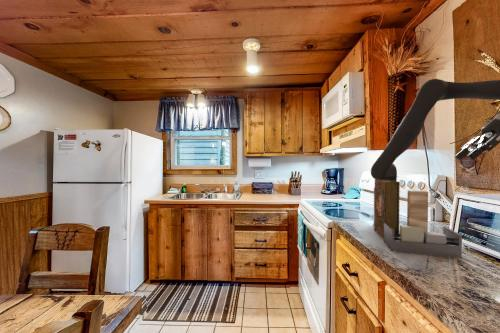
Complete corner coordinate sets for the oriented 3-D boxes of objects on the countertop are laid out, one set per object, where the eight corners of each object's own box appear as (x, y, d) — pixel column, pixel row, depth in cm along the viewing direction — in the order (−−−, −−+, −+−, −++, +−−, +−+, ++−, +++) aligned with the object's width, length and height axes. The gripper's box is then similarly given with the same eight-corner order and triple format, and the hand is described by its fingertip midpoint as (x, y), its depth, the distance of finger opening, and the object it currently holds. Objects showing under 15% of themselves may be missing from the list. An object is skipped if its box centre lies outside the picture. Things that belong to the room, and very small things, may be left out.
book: (373, 229, 120) (373, 178, 119) (385, 230, 119) (386, 179, 118) (384, 240, 104) (385, 181, 103) (398, 241, 102) (399, 181, 102)
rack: (384, 241, 102) (384, 222, 101) (445, 247, 95) (445, 226, 95) (391, 251, 91) (391, 230, 90) (461, 258, 84) (461, 235, 84)
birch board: (406, 245, 98) (407, 190, 97) (424, 246, 96) (425, 190, 95) (409, 247, 95) (410, 191, 94) (427, 249, 93) (428, 191, 93)
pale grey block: (423, 251, 91) (424, 232, 91) (442, 252, 90) (443, 233, 89) (426, 253, 89) (426, 234, 89) (446, 255, 87) (446, 235, 87)
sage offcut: (399, 248, 94) (399, 225, 93) (420, 250, 92) (421, 226, 91) (401, 251, 91) (401, 227, 91) (423, 253, 89) (423, 228, 89)
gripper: (481, 121, 93) (445, 151, 96) (508, 114, 79) (465, 150, 83) (498, 135, 91) (461, 165, 95) (529, 130, 78) (484, 166, 81)
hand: (463, 158), depth 89 cm, fingers open, 8 cm apart
